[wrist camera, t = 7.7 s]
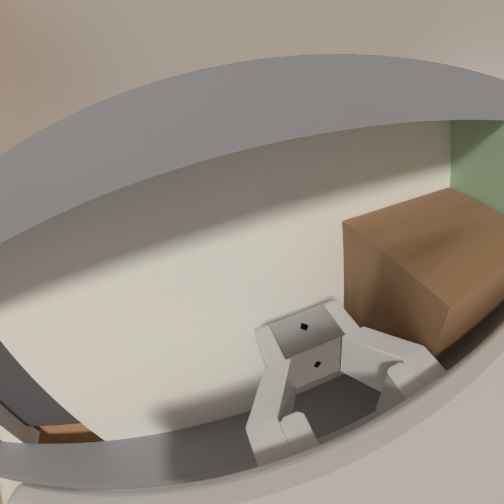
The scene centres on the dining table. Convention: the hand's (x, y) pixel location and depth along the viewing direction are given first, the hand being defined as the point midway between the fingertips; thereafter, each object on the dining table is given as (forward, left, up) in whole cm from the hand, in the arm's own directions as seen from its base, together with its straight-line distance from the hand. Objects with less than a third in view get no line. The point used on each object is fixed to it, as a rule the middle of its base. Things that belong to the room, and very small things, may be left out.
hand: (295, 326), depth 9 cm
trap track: (0, +11, -3) cm, 11 cm away
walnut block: (0, -6, -1) cm, 6 cm away
